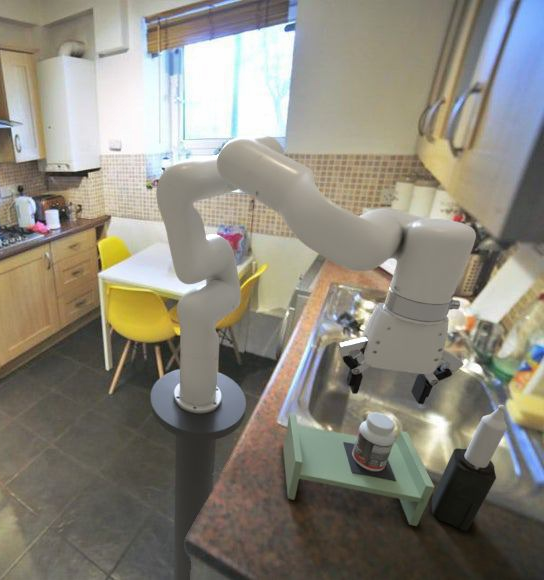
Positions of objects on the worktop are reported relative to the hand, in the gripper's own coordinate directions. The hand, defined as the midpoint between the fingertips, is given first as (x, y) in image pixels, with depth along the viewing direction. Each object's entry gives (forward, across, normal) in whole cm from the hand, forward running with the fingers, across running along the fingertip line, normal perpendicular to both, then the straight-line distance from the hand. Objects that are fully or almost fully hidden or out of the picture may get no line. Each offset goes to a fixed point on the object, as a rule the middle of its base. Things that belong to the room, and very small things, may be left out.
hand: (384, 393), depth 62 cm
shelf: (+22, +2, +1) cm, 23 cm away
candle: (+22, -15, +3) cm, 27 cm away
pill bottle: (+15, -1, +1) cm, 15 cm away
